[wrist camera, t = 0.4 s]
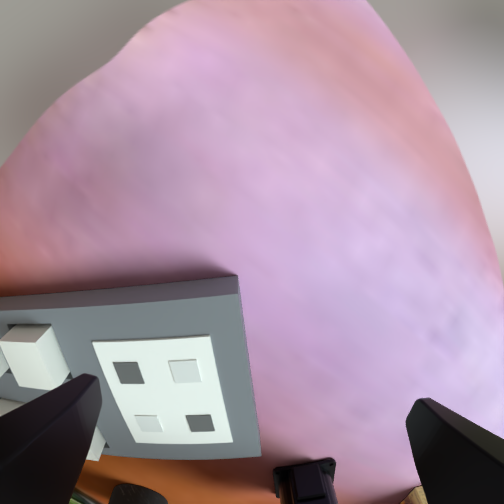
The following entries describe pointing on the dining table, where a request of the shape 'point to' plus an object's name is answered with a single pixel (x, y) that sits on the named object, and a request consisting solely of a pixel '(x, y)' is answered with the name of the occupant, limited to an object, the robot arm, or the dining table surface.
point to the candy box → (415, 497)
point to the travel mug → (135, 495)
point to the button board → (154, 365)
